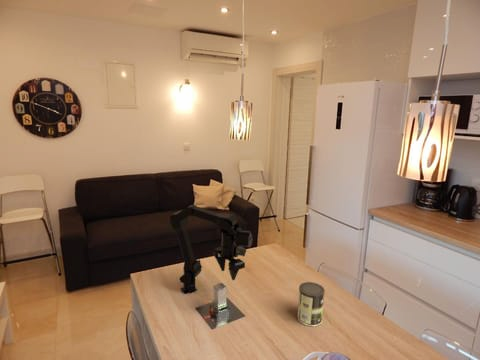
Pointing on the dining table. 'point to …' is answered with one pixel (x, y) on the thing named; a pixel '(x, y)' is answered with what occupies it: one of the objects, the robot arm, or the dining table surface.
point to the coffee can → (310, 304)
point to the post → (220, 295)
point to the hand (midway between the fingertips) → (228, 275)
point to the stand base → (219, 314)
